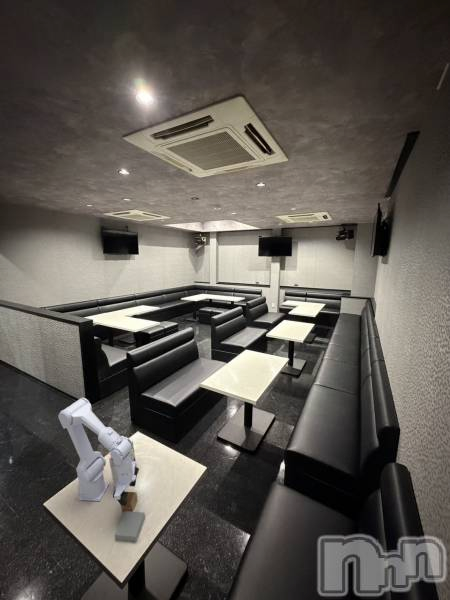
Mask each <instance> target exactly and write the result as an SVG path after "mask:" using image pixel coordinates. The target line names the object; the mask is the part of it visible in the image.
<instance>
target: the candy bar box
mask: <svg viewBox="0 0 450 600" xmlns="http://www.w3.org/2000/svg"><path fill="white" fill-rule="evenodd" d="M129 440H130V441H131V442H132V444H133V445H134V442H133V440H132V439H129ZM130 454H131V461H136V455H135V449H134V446H133V448H132V449H131V451H130ZM108 460H109V466H110V472H111V477H112V481H113V488H114V489H116V486H117V480H118V477H117V470H116V465H115V464H114V461H113V459H112V458H111V456H110V457H109V458H108ZM136 462H137V461H136ZM135 468H138V467H137V466H136V467H135Z"/></svg>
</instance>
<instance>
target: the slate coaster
mask: <svg viewBox="0 0 450 600" xmlns="http://www.w3.org/2000/svg"><path fill="white" fill-rule="evenodd" d="M145 518H146V514H145V512H142V511H133V512H131V511H125V512H123V516H122V518H121V520H120V522H119V524H118V527H117V528H116V531H115V533H114V540H115V541H122V542H133V543H137V542H138V539H139V535H140V533H141V530H142V528H143V525H144V521H145V520H146V519H145Z"/></svg>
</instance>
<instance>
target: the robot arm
mask: <svg viewBox="0 0 450 600" xmlns="http://www.w3.org/2000/svg"><path fill="white" fill-rule="evenodd" d="M57 416H58V420H59V422H60V424H61V426H62V428H63V429H67V432H68V434H69V436H70V439H71V441H72V443H73V445H74V448H75V450H76V453H77V455H78V456H79V462H78V465H77V466H76V468H75V471H76V474H77V479H78V483H77V487H78V492H79V498H78V500H79V501H90V502H91V501H92V502H99V501H101V499H102V498H103V495H104V494H105V492H106V490H107V489H108V487H109V486H110V481H105V478H104V470H105V469H104V467H106V464H107V460H106V459H105V457H104V456H103V454H102V452H100V451H96V450H95V451H94V450H93V447H92V445H91V442H90V440H89V438H88V435H87V433H86V430H85V428H84V426H86V428H88V429H89V430H90V431H92V432H93V433H95V434H96V435H97V437H98V438H97V441H98V442H99V443H101V445H103V446H104V448H106V449H107V450H108V451H109V452H110V453H109V455H110V457H111V458H112V459H113V461H114V464H115V465H116V470H117V477H118V480H117V486H116V488H115V490H114V491H113V494H112V498H113V499H114V500H115V501H118V503H119V504H120V507H121V506H126V505H127V495H128V493H129V492H130V491H125V490H126V489H127V488H128V487H136V483H137V477H138V473H139V470H140V469H139V467H137V461H131V454H130V451H131V449H132V448H133V447H134V443H133V444H132V442H131V441H130V440H131V439H130V438H128V437H126V436H123V435H120V434H119V433H118V432H116V430H114V428H112V427H111V426H105V425H104V423H103V422H102V420H101V419H99V418H98V416H96V414H95V413H94V412H93V408H92V404H91V403H90V400H89V399H87V398H86V397H80V398H79V399H78V400H76V401H75V402H72V404H71V405H69V406H67V407H66V408H64V409H62V410H60V412H59V414H58V415H57ZM83 425H84V426H83ZM135 467H137V468H135Z"/></svg>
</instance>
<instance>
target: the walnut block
mask: <svg viewBox="0 0 450 600" xmlns="http://www.w3.org/2000/svg"><path fill="white" fill-rule="evenodd" d="M128 492H129V493H128V495H127V505H126V506H121V505H120V507H121V513H125V511H131V512H135V508H136V507H137V504H138V493H137V492H136V491H135V492H134V491H128Z"/></svg>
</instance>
